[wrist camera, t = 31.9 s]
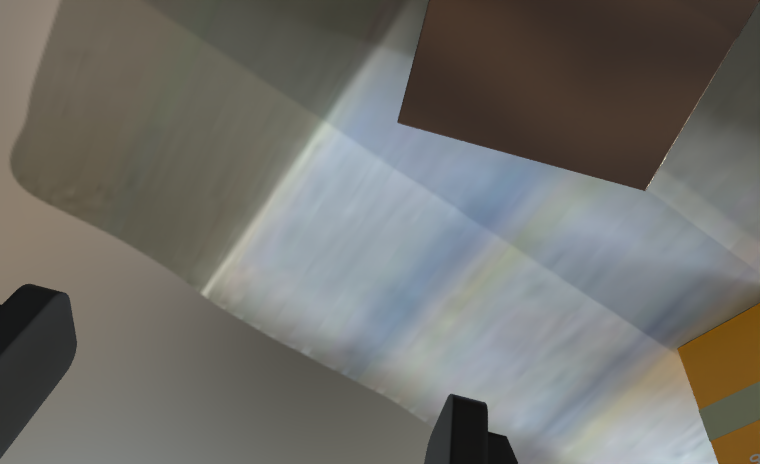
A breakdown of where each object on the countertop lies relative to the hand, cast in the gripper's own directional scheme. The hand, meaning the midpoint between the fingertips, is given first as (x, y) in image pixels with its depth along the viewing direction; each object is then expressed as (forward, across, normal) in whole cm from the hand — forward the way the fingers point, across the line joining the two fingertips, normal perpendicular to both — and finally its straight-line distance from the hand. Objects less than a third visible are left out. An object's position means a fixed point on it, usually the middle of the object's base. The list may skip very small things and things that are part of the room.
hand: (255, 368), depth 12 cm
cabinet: (+28, -8, -5) cm, 29 cm away
